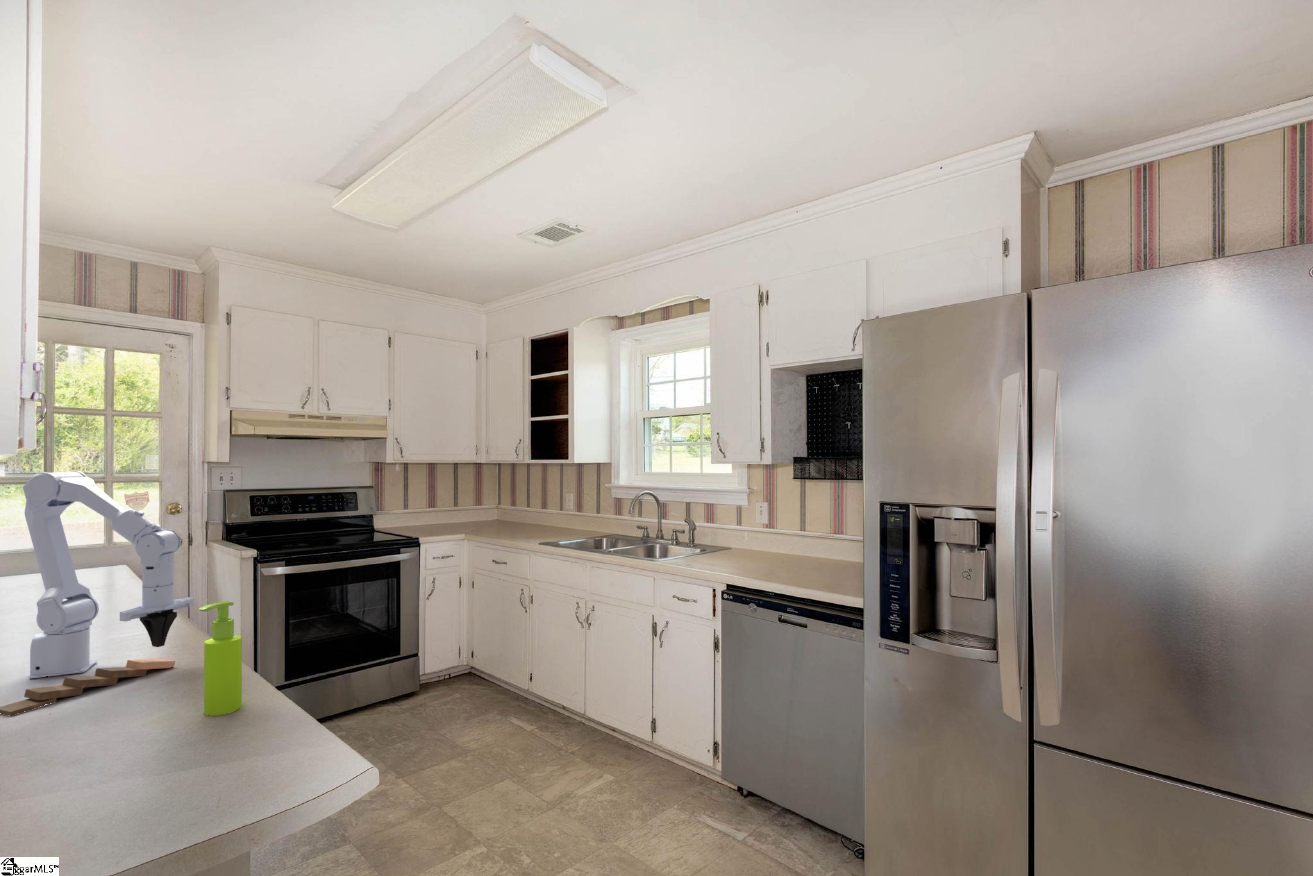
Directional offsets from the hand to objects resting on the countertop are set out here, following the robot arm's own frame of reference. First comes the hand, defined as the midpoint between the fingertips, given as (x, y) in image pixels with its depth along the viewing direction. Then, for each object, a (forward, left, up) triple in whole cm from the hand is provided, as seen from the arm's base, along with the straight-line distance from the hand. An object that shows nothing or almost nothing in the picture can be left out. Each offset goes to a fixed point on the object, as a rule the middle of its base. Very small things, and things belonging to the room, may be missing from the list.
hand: (158, 646), depth 147 cm
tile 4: (-11, -11, -4) cm, 16 cm away
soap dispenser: (+17, -35, -5) cm, 39 cm away
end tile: (-14, -14, -5) cm, 21 cm away
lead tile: (+1, +1, -4) cm, 5 cm away
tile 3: (-7, -7, -4) cm, 11 cm away
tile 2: (-3, -3, -4) cm, 6 cm away
